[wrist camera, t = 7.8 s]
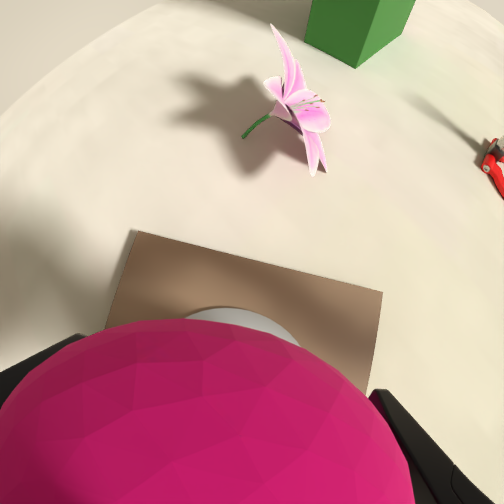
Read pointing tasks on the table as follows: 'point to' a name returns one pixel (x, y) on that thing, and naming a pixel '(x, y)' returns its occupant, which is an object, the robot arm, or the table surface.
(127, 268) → the brown flat square slab
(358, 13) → the hardback book
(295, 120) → the lily
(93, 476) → the pepper mill
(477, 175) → the table surface
